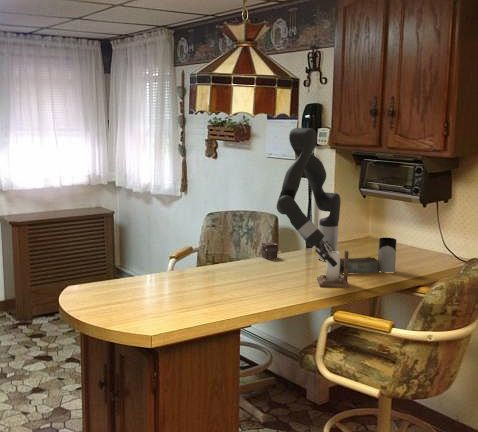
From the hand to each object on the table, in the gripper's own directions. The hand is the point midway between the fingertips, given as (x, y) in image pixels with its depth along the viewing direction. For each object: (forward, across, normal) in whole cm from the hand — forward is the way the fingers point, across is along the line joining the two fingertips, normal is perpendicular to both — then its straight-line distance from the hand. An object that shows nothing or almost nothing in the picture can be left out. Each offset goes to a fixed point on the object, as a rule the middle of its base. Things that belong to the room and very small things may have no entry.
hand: (337, 263), depth 245 cm
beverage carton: (+9, +23, +4) cm, 25 cm away
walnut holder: (+5, 0, +7) cm, 9 cm away
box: (-23, +33, +35) cm, 53 cm away
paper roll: (+4, 0, +6) cm, 8 cm away
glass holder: (+18, +33, -5) cm, 38 cm away
